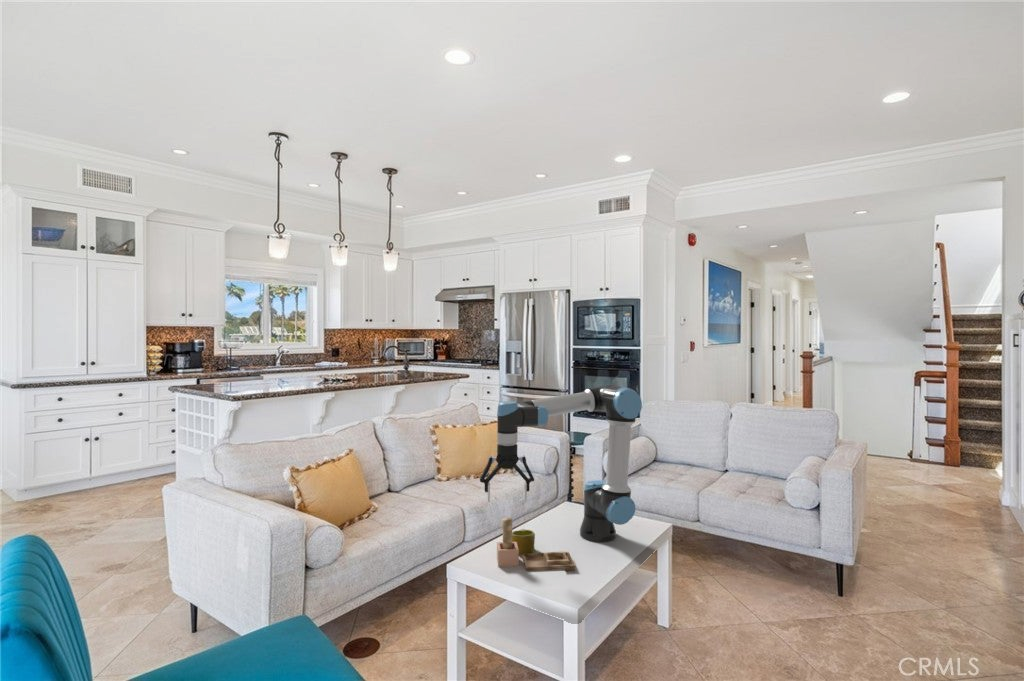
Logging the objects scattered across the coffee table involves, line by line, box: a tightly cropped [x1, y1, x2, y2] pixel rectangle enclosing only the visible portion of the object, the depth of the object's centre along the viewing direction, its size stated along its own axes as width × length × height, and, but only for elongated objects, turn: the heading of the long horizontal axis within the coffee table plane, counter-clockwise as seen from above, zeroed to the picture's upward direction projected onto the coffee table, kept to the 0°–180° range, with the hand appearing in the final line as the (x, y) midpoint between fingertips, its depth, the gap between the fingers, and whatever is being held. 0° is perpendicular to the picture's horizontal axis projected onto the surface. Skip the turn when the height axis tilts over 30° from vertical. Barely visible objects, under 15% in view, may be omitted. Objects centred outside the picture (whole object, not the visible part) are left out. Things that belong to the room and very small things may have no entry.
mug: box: [512, 528, 536, 556], centre depth 213 cm, size 12×10×10 cm
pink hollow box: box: [496, 541, 520, 568], centre depth 201 cm, size 8×8×7 cm
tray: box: [521, 551, 576, 573], centre depth 200 cm, size 18×12×3 cm, turn 96°
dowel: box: [502, 517, 513, 549], centre depth 201 cm, size 4×4×16 cm
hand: (506, 500), depth 200 cm, fingers open, 13 cm apart
